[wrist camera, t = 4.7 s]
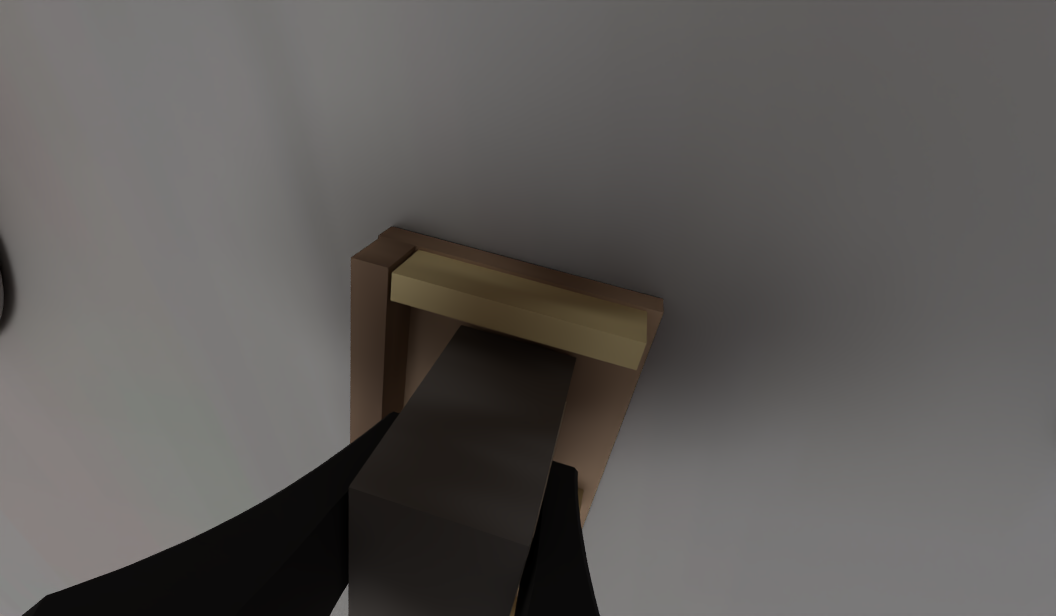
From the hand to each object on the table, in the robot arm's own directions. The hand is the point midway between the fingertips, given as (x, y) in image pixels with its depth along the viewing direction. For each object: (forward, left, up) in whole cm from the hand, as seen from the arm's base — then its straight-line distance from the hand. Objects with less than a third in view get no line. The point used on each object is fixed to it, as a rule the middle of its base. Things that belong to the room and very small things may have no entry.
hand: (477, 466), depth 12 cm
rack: (0, +7, -4) cm, 8 cm away
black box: (0, 0, -3) cm, 3 cm away
